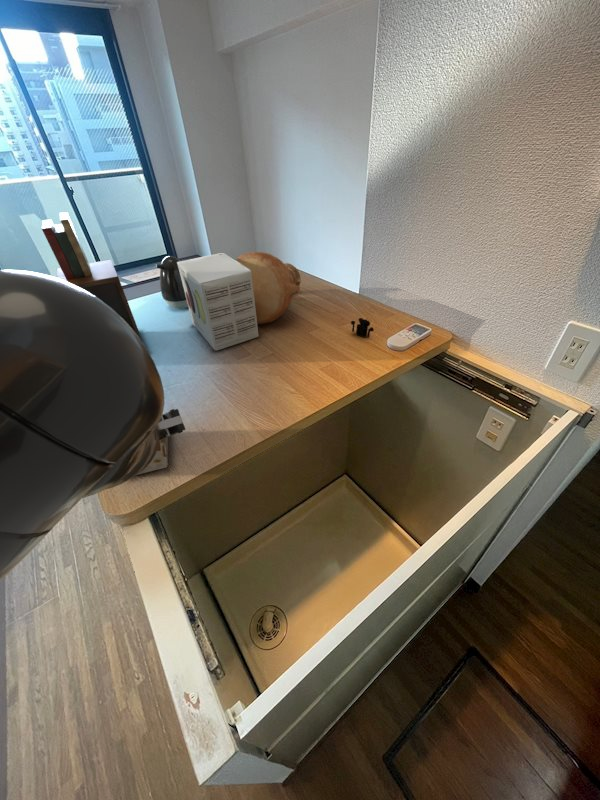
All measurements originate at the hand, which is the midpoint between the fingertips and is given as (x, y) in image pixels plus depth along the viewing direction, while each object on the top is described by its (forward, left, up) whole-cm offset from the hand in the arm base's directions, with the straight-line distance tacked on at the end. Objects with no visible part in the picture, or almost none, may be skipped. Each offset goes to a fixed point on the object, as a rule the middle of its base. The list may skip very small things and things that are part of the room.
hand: (133, 441), depth 42 cm
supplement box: (+27, +47, -14) cm, 56 cm away
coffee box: (0, +12, -15) cm, 19 cm away
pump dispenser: (+21, +70, -15) cm, 75 cm away
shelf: (0, +52, -14) cm, 54 cm away
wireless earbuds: (+59, +25, -15) cm, 66 cm away
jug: (+45, +52, -15) cm, 70 cm away
